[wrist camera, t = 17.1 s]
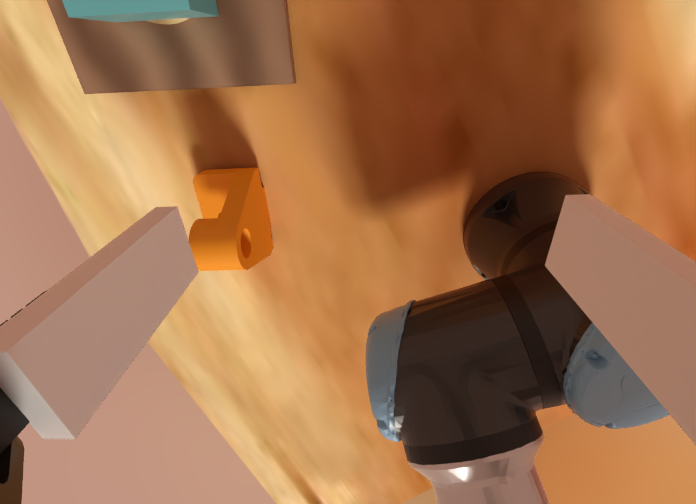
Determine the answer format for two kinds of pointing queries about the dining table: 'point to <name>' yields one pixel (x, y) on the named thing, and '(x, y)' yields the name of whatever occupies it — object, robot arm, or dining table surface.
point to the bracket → (230, 220)
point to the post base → (182, 49)
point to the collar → (139, 9)
